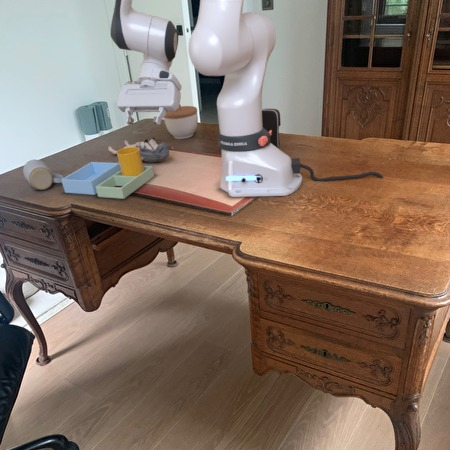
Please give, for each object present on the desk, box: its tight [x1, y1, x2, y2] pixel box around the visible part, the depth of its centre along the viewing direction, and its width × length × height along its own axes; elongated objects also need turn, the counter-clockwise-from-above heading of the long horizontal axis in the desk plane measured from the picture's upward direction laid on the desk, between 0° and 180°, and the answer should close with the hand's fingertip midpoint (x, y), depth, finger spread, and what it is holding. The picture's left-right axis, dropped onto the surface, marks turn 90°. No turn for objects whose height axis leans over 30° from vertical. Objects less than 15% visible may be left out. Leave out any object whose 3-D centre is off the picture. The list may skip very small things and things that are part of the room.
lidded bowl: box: [163, 104, 199, 140], centre depth 162 cm, size 13×13×11 cm
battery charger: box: [262, 108, 282, 148], centre depth 142 cm, size 7×4×11 cm, turn 58°
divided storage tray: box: [96, 165, 156, 200], centre depth 128 cm, size 9×17×3 cm, turn 157°
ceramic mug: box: [22, 158, 65, 191], centre depth 134 cm, size 11×8×8 cm
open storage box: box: [61, 161, 120, 196], centre depth 132 cm, size 11×15×4 cm
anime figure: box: [107, 137, 170, 164], centre depth 146 cm, size 10×7×30 cm
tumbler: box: [115, 147, 144, 176], centre depth 129 cm, size 7×7×9 cm
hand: (142, 123), depth 131 cm, fingers open, 8 cm apart
